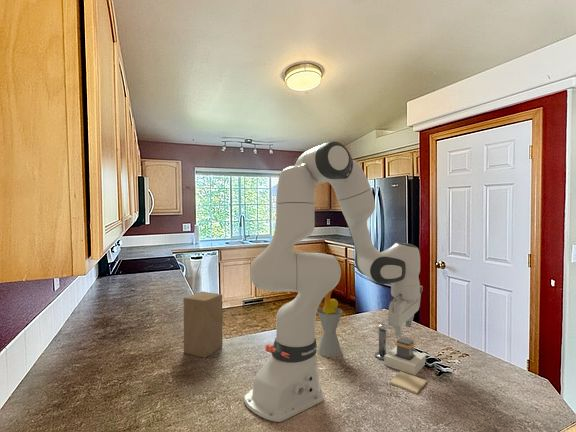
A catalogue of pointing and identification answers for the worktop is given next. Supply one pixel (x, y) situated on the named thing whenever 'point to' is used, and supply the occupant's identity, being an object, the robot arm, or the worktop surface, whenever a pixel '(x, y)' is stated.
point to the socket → (405, 362)
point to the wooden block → (202, 324)
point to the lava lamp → (329, 327)
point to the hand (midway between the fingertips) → (403, 330)
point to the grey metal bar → (383, 325)
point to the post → (381, 345)
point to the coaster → (408, 382)
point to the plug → (405, 348)
